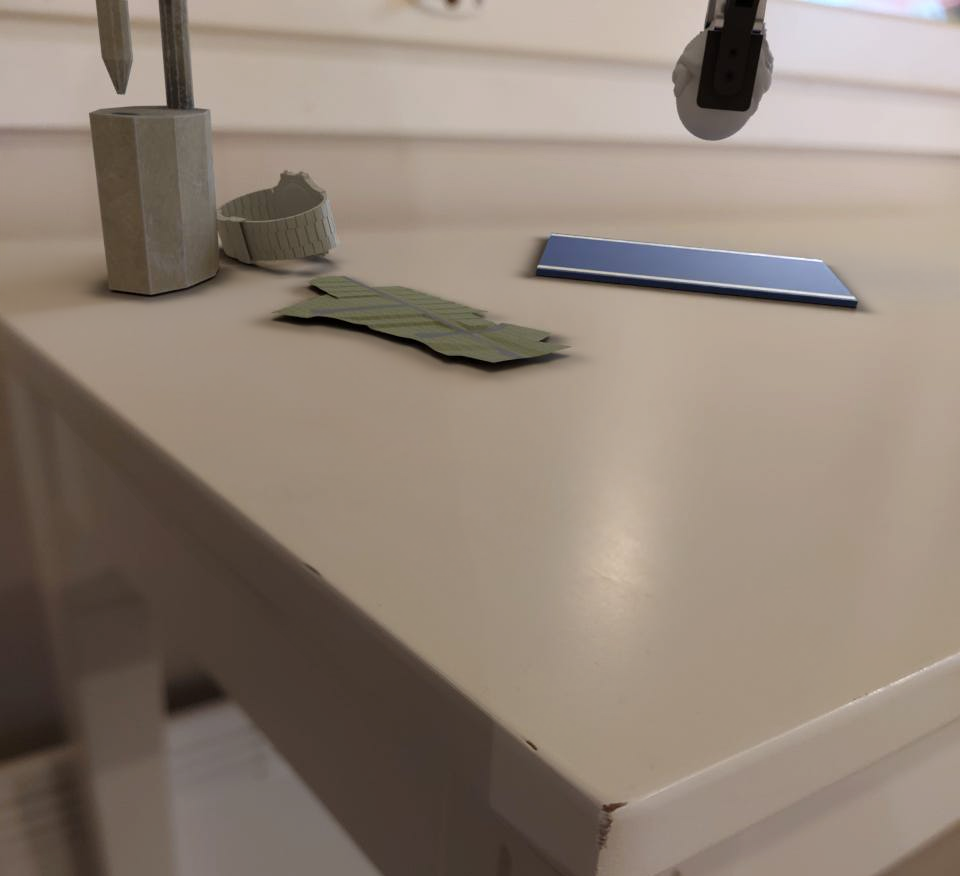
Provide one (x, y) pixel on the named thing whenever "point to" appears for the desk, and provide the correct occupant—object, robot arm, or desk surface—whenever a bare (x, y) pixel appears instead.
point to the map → (422, 320)
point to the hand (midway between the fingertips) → (718, 103)
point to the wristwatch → (278, 222)
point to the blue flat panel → (693, 269)
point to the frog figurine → (687, 82)
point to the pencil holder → (154, 165)
